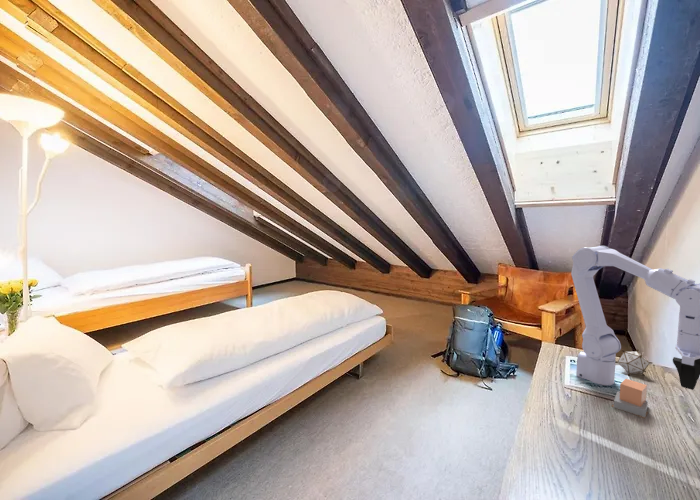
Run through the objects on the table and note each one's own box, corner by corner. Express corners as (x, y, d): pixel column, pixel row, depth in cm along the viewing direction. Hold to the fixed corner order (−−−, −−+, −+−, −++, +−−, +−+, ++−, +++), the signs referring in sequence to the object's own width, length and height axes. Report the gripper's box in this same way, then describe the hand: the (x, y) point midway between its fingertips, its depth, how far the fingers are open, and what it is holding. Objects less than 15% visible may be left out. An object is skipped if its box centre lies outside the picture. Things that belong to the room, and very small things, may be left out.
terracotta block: (619, 399, 88) (620, 383, 87) (625, 393, 90) (625, 378, 90) (641, 406, 84) (642, 390, 83) (646, 400, 86) (647, 385, 86)
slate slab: (613, 407, 87) (613, 400, 87) (617, 397, 92) (617, 391, 91) (645, 417, 83) (645, 410, 82) (647, 406, 87) (647, 399, 87)
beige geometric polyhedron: (639, 387, 105) (657, 373, 98) (608, 372, 109) (624, 358, 102) (640, 365, 110) (658, 351, 103) (612, 353, 114) (627, 338, 107)
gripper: (714, 344, 73) (709, 400, 74) (721, 329, 81) (716, 379, 83) (671, 335, 78) (667, 387, 80) (681, 322, 87) (678, 369, 88)
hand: (689, 382), depth 82 cm, fingers open, 7 cm apart
